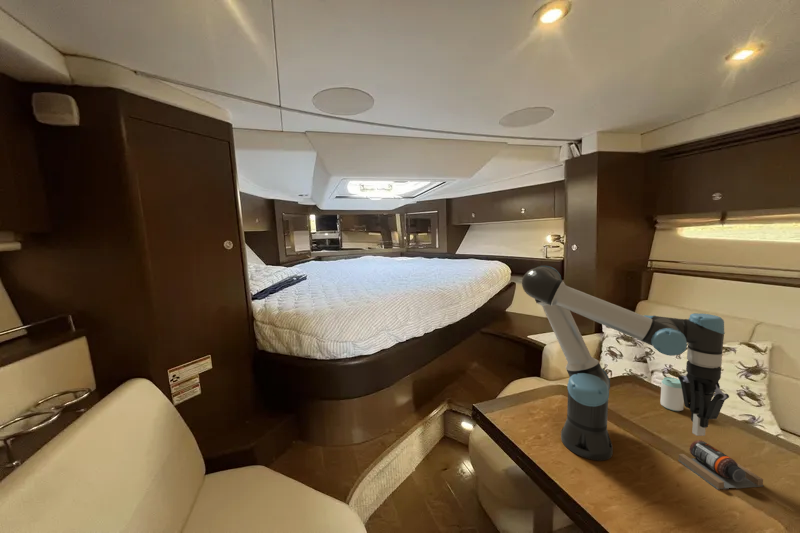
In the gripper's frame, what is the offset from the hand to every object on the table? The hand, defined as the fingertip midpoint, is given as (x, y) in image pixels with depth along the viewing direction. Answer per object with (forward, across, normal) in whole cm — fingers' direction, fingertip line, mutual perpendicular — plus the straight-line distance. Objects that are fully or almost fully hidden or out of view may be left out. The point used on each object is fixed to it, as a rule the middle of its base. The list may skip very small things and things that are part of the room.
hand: (698, 434), depth 92 cm
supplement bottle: (+5, +1, 0) cm, 5 cm away
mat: (+8, -6, 0) cm, 10 cm away
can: (+9, +27, -20) cm, 35 cm away
